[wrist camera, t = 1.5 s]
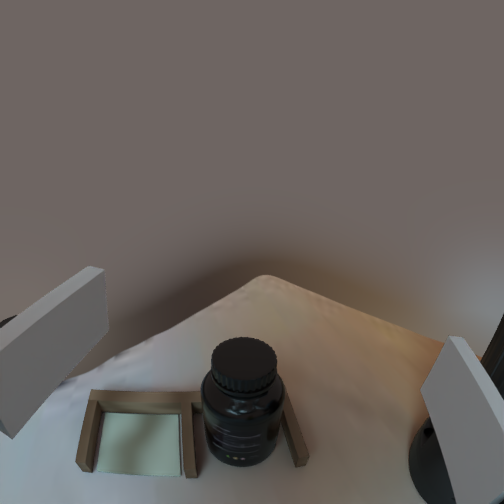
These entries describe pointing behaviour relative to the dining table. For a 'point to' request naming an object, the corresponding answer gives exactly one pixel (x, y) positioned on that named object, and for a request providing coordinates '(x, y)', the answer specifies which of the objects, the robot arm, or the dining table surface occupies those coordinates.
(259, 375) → the supplement bottle
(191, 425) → the notch rail
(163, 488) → the dining table surface
